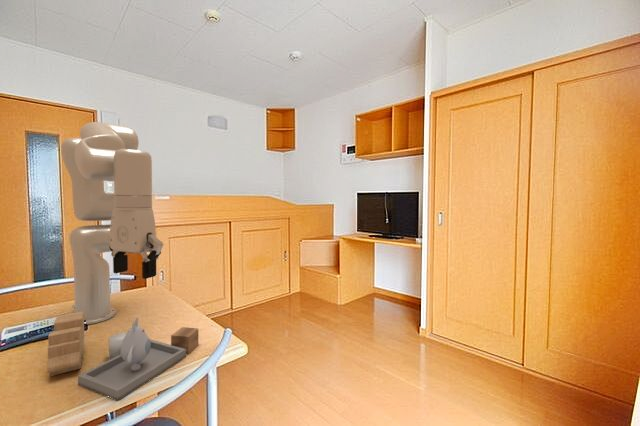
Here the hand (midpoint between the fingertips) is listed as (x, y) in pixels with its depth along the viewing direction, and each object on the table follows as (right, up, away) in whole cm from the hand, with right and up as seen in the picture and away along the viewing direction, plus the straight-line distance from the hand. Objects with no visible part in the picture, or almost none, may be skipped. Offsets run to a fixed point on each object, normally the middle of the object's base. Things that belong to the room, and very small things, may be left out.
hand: (134, 274), depth 70 cm
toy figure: (-1, -23, +1) cm, 23 cm away
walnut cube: (+7, -23, +11) cm, 27 cm away
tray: (0, -24, +1) cm, 24 cm away
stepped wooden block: (-19, -23, +4) cm, 31 cm away
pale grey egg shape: (-9, -23, +8) cm, 26 cm away
